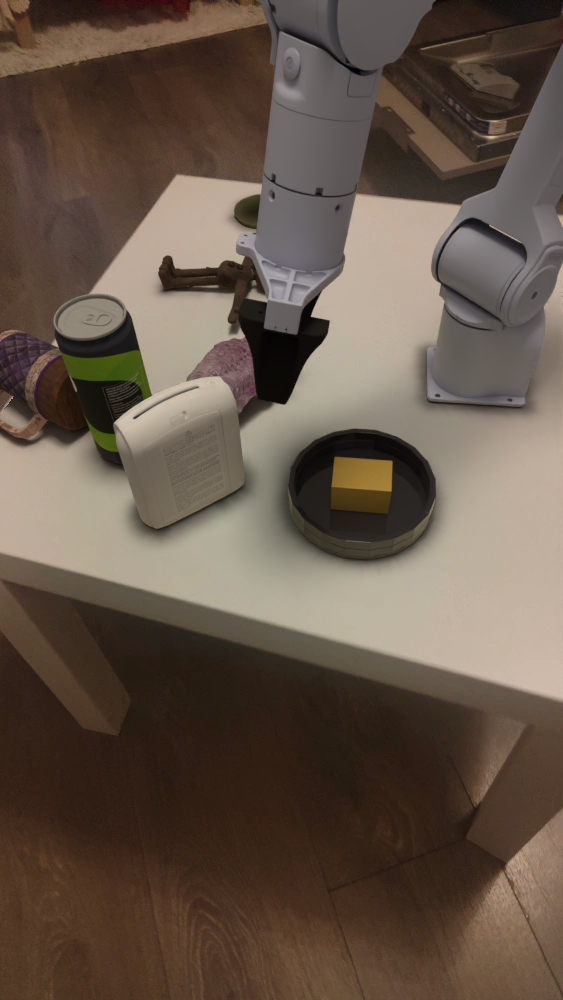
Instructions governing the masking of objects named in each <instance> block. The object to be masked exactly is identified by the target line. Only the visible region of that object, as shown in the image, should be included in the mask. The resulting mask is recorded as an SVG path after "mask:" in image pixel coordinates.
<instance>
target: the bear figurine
mask: <svg viewBox="0 0 563 1000" xmlns="http://www.w3.org/2000/svg"><path fill="white" fill-rule="evenodd" d="M251 234H256V232H253V233H251ZM157 275H158V278H159V280H160V282H161V285H162V288H163V289H164V290H169V289H173V288H177V289H179V288H189V289H190V288H194V287H212V286H214V287H215V286H220V287H221V288H225V289H230V288H235V289H234V295H233V299H232V300H233V301H232V305H231V309H230V311H229V313H228V316H227V323H228V324H229V325H234V324H236V323H237V322H239V319H238V316H239V309H240V306H241V303H242V301H243V298H245V295H246V293H247V289H248V288H249V287H251V285H252V282H253V281H255V283H256V285H257V286H258V287H259V288H260V289H262V290H264V288H263V285H262V283H261V280H260V278H259V275H258V273H257V270H256V268H255V265H254V263H253V260H252V259H251V258H250V257H247V256H243V260H242V263H239V262H236V261H234V260H228V259H226V260H223V261H222V262H220V264H219V265H218V267H210V266H206V267H202V268H200V267H199V268H178V267H176V266H175V264H174V259H173V256H171V255H169V254H168V255H167V254H166V255H165V256H163V257H162V261H161V264H160V266H158V272H157ZM264 291H265V290H264Z"/></svg>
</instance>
